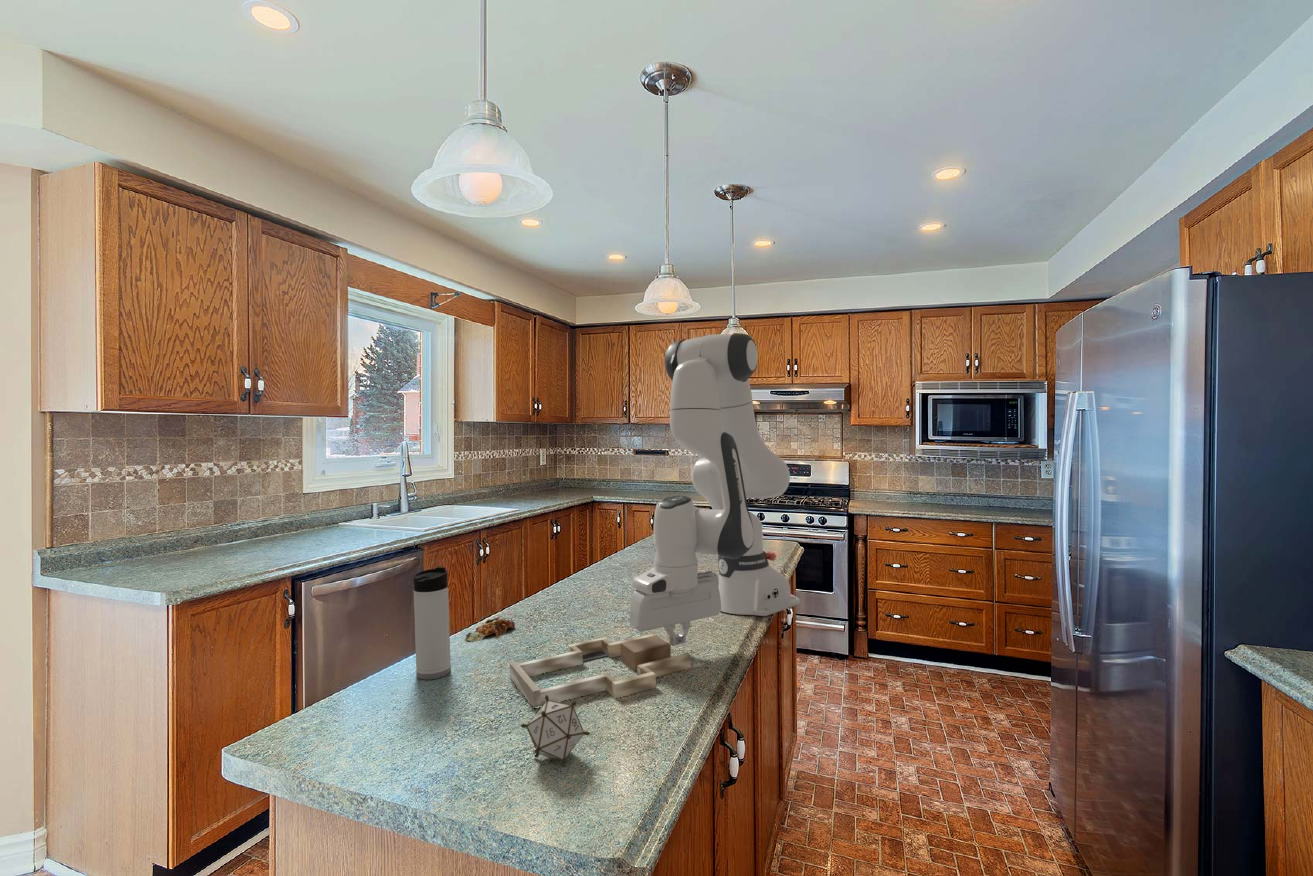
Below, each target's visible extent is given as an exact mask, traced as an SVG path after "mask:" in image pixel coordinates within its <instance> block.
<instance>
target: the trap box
mask: <svg viewBox="0 0 1313 876" xmlns="http://www.w3.org/2000/svg"><path fill="white" fill-rule="evenodd" d="M655 635H656V636H658V635H657V634H656V633H651V634H646V635H641V636H637V637H636V636H635V637H632V638H631V637H630V638H628V639H623V640H617V641H614V642H611V641H610V640H609V639H608V638H606V637H605V636H603V637H598V638H592V639H589V640H584V641H579V642H575V643H574V642H573V643H570V644H568V645H567V651H568V652H564V653H560V654H556V655H551V656H547V657H541V658H537V659H534V660H528V661H523V662H520V663H518V662H517V661H511V662H509V680H510V681H511V680H512V681H511V682H512V683H513V682H514V683H513V684H514V686H515V685H516V686H517V687H516V686H515V687H516V688H517V690H518V689H519V690H520V691H519V690H518V691H519V692H520V694H521V695H522V694H523V695H524V696H525V697H524V696H523V695H522V696H523V697H524V698H526V699H527V700H528V701H527V700H526V699H525V700H526V701H527V702H528V703H530V704H531V705H532V706H533V708H535V707H538V706H543V705H544V703H545V702H546V700H545V695H547V696H549V697H548V698H549V700H550V701H555V702H559V701H563V700H567V701H569V700H568V699H571V700H575V699H578V698H577V697H579V698H582V697H581V696H583V697H585V696H590V695H593V694H597V693H601V692H604V691H606V692H607V693H608V694H610V696H612V698H613V699H615V700H617V699H621V698H624V697H623V696H625V697H628V696H632V695H635V694H634V693H636V694H639V693H643V692H645V691H646V692H647V691H650V690H653V689H657V678H658V677H661V676H662V677H663V676H664V675H669V674H673V673H677V672H679V671H685V670H688V669H691V668H692V661H691V660H692V659H691V658H692V657H691V656H692V655H691V654H690V653H688V652H686V653H682V654H678V655H677V654H676V655H674V656H671V657H669V658H665V659H661V660H657V661H653V662H649V663H645V664H641V665H637V672H636V674H637V675H634V676H630V677H626V678H623V679H619V680H617V679H616V678H615V677H613V676H612V675H611V674H610V673H609V672H606V673H601V674H598V675H593V676H589V677H585V678H581V679H577V680H573V681H569V682H565V683H562V684H557V685H554V686H550V687H545V688H541V689H540V688H539V686H538V685H537V684H536V683H535V682H534V681H533V680H532V678H531V677H535V676H538V675H542V673H544V674H547V673H546V672H548V673H552V672H556V671H560V670H559V669H561V670H565V669H569V668H572V667H577V665H578V666H582V665H583V663H585V662H590V661H594V660H598V659H599V660H600V659H603V658H606V657H609V658H610V659H611V658H616V657H621V643H623V642H628V641H632V640H637V639H641V638H646V637H650V636H655ZM530 676H531V677H530ZM649 689H650V690H649ZM642 691H643V692H642ZM631 694H632V695H631ZM620 697H621V698H620ZM574 698H575V699H574ZM616 698H617V699H616ZM530 704H529V705H530ZM531 705H530V706H531ZM532 706H531V707H532ZM533 708H532V709H533Z"/></svg>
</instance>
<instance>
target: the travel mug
mask: <svg viewBox="0 0 1313 876" xmlns="http://www.w3.org/2000/svg"><path fill="white" fill-rule="evenodd" d="M448 583H449V582H448V570H447V569H446V566H445V567H444V566H437V567H435V568H432V569H431V568H430V569H426V570H425V569H424V570H422V571H420V572H417V573H416V574H415V575H414V576H413V609H414V610H413V611H414V614H413V615H414V636H415V637H414V640H415V642H414V643H415V667H416V668H415V669H416V670H415V671H416V674H415V675H416V677H417V678H418V679H419V680H424V681H425V680H426V681H427V680H428V681H429V680H430V681H431V680H436V679H440V678H443V677H446V676H447V675H449V673H451V670H452V669H451V668H452V664H451V662H452V661H451V636H450V633H451V632H450V609H449V608H450V606H449V605H450V604H449V603H450V600H449V584H448Z"/></svg>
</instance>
